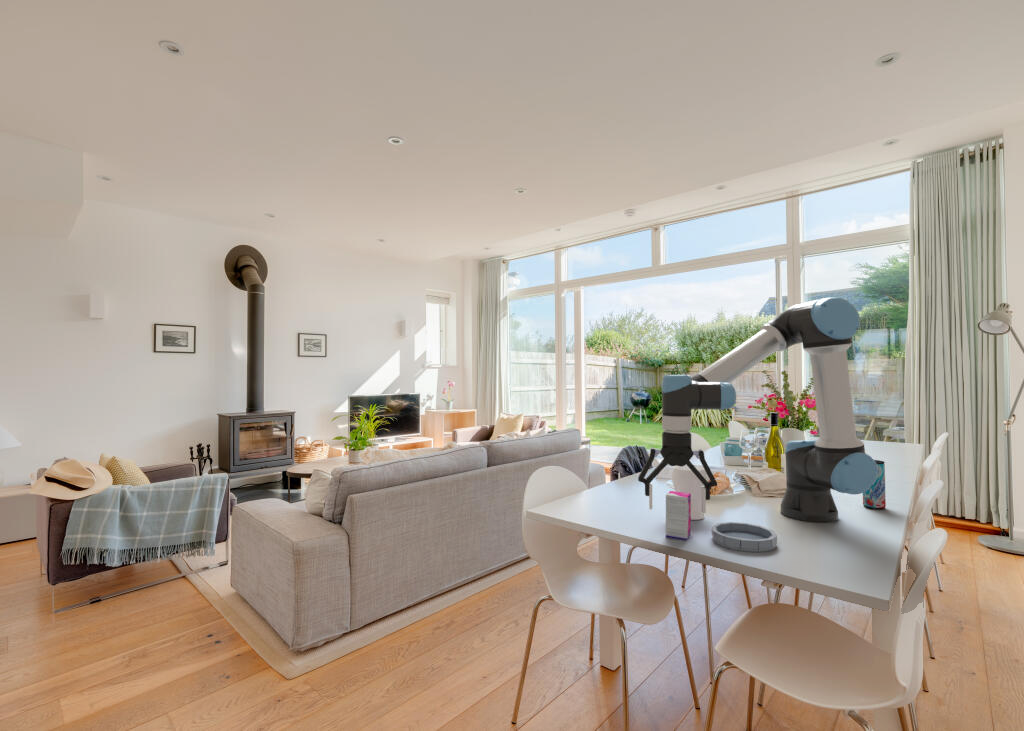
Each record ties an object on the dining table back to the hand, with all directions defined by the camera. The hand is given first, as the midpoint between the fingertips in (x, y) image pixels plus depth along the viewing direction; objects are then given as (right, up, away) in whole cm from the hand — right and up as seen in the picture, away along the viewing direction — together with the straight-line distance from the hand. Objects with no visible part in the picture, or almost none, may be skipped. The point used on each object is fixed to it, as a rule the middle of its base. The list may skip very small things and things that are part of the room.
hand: (676, 509), depth 132 cm
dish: (+16, -7, -5) cm, 18 cm away
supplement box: (0, -7, 0) cm, 7 cm away
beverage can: (+72, -7, +25) cm, 77 cm away
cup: (+10, -8, +18) cm, 22 cm away
